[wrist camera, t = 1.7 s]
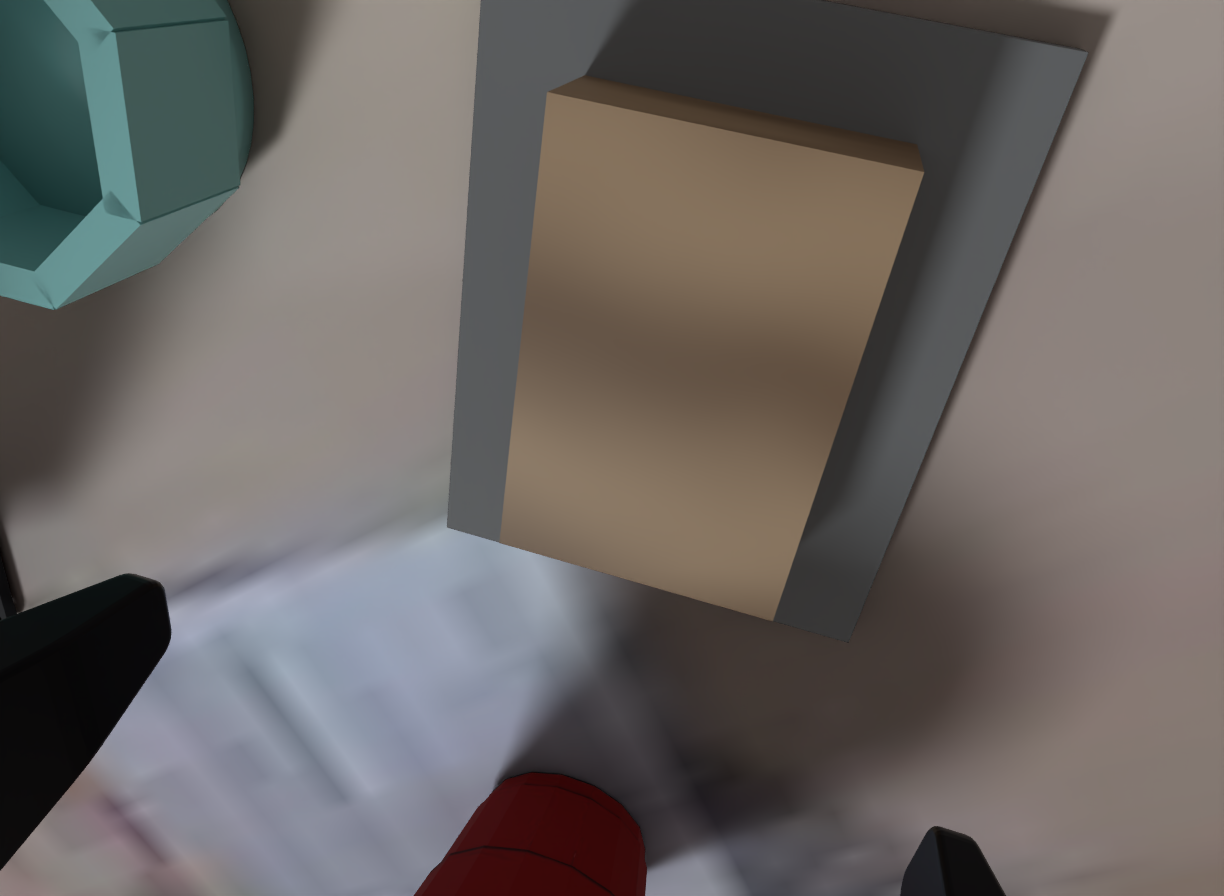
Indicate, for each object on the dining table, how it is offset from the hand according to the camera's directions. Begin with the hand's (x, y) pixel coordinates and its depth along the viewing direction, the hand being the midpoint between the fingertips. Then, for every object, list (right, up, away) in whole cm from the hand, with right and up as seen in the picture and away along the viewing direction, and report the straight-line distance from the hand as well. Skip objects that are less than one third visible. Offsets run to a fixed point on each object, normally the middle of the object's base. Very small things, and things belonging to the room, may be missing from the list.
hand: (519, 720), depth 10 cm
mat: (+3, +6, +10) cm, 12 cm away
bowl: (-11, +12, +11) cm, 19 cm away
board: (+3, +5, +10) cm, 11 cm away
